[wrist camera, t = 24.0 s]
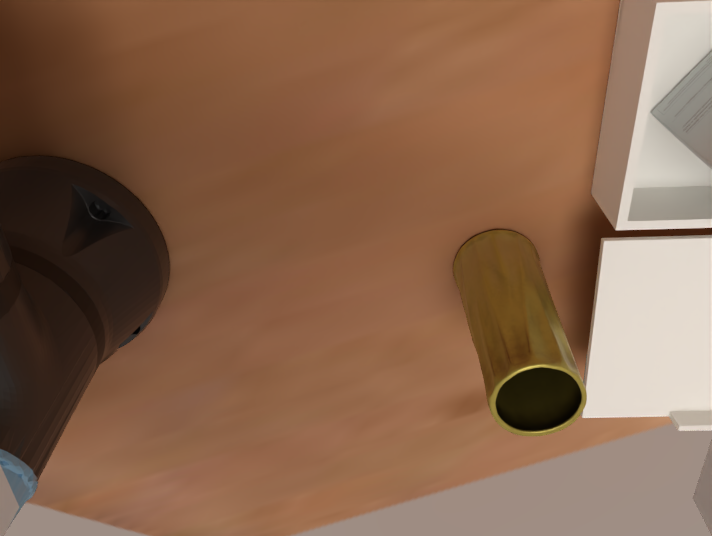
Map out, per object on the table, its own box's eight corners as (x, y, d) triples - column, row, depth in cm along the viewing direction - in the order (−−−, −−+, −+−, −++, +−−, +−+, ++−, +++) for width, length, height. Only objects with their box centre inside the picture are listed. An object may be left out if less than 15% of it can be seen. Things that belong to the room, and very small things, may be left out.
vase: (500, 211, 46) (548, 338, 34) (556, 264, 48) (619, 401, 36) (435, 266, 48) (457, 403, 36) (491, 314, 50) (530, 459, 38)
